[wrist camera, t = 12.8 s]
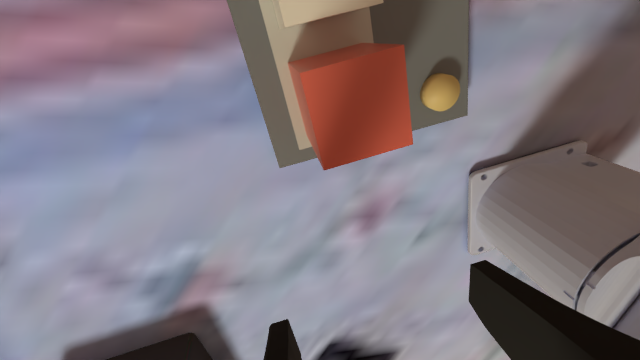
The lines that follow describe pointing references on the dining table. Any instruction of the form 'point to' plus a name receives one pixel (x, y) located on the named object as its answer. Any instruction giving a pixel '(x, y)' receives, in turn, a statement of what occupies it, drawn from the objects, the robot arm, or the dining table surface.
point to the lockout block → (354, 101)
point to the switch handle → (315, 10)
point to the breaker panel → (346, 30)
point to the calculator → (170, 350)
